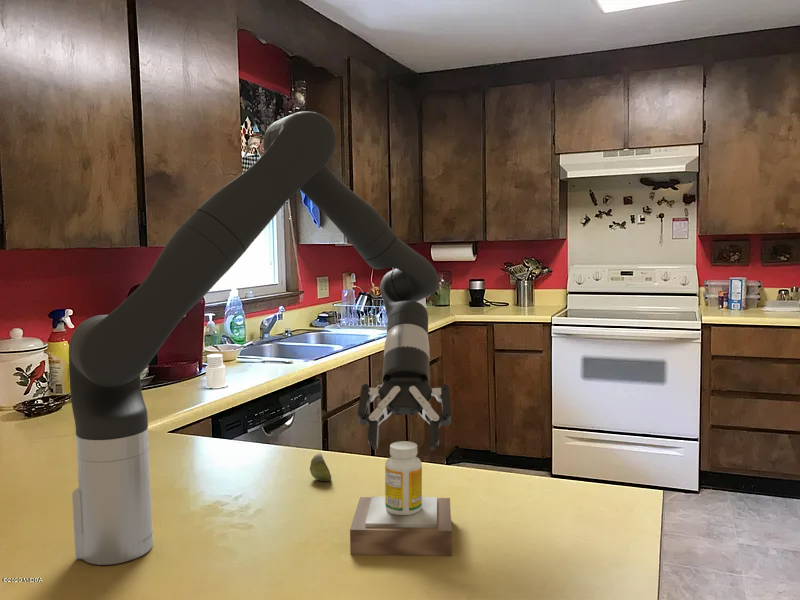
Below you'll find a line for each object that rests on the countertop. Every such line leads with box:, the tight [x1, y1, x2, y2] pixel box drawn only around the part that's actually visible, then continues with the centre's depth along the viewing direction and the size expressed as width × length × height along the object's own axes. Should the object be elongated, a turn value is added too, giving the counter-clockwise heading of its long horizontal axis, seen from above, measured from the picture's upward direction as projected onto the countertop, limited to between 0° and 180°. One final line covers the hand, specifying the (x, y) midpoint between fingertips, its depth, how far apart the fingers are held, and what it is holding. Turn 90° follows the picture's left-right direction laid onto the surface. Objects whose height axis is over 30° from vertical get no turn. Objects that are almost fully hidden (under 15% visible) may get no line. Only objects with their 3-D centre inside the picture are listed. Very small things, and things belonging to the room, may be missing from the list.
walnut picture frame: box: [349, 496, 453, 557], centre depth 97 cm, size 14×12×4 cm
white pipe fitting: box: [205, 353, 227, 388], centre depth 204 cm, size 8×7×10 cm
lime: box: [309, 452, 332, 482], centre depth 121 cm, size 4×5×5 cm
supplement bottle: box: [384, 440, 423, 516], centre depth 97 cm, size 5×5×10 cm
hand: (403, 447), depth 98 cm, fingers open, 8 cm apart
